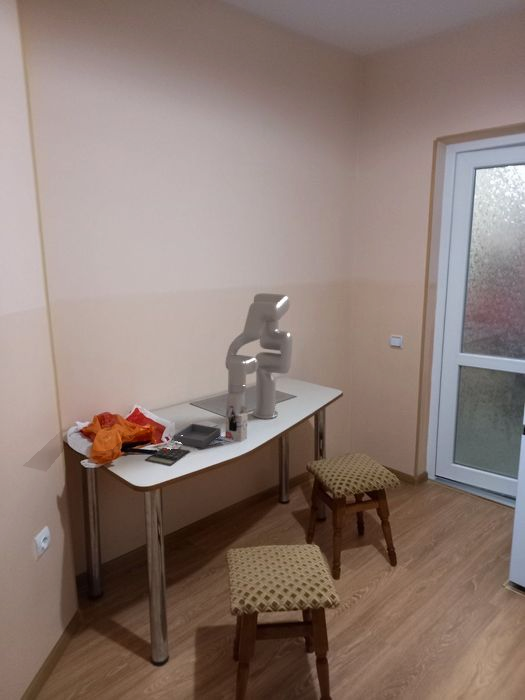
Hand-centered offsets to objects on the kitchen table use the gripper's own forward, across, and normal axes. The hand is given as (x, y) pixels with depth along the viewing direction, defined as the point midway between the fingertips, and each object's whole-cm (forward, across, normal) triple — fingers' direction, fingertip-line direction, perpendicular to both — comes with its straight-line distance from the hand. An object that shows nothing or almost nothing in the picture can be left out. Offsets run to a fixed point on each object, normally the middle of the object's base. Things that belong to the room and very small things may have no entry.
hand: (236, 427), depth 219 cm
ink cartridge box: (+5, 0, 0) cm, 5 cm away
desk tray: (+5, +9, -14) cm, 17 cm away
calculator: (+5, +29, -16) cm, 34 cm away
